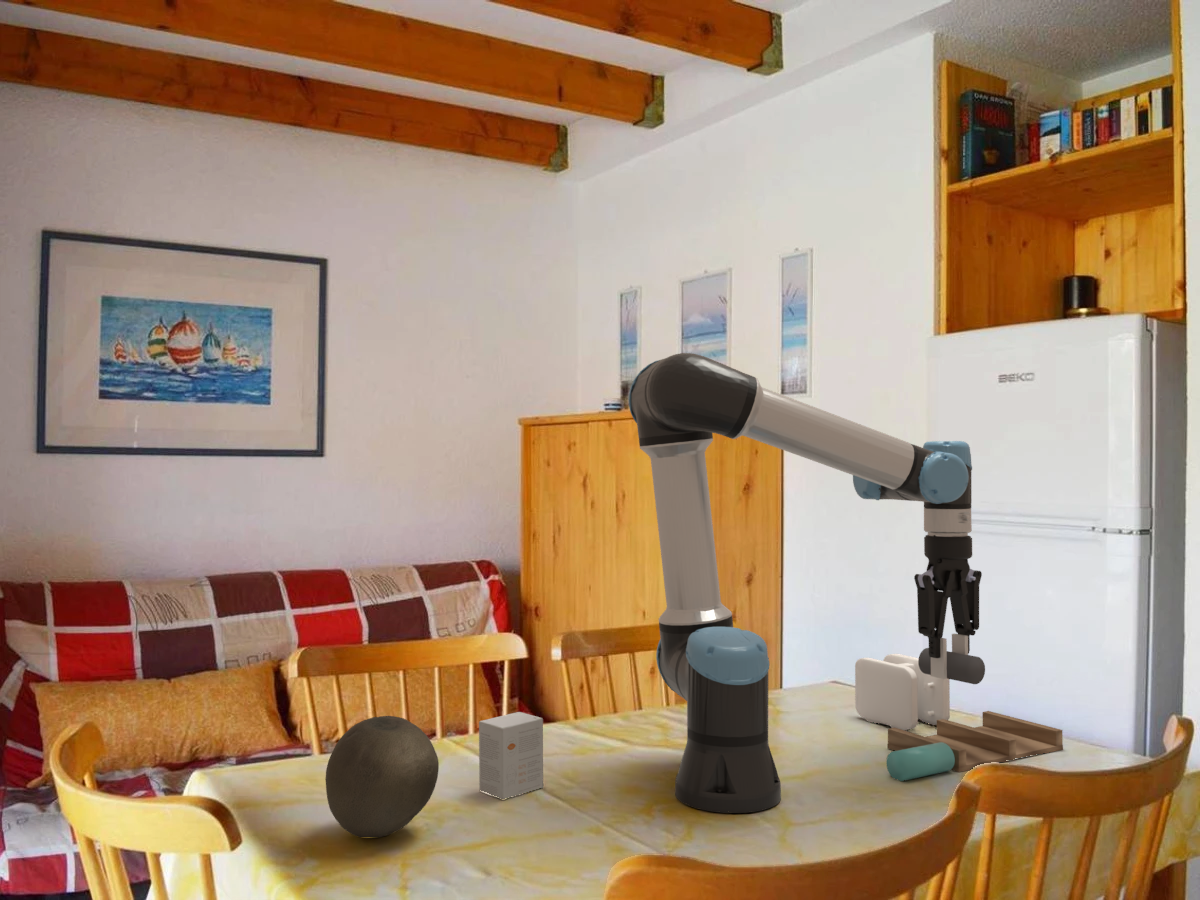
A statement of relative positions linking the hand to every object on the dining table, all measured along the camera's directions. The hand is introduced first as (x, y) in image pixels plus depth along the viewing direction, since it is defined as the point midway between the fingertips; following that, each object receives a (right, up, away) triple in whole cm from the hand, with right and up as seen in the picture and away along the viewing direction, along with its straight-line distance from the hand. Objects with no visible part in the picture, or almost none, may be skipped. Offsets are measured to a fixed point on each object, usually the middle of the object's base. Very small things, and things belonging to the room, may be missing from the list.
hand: (949, 675), depth 168 cm
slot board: (+5, -13, +3) cm, 14 cm away
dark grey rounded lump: (-86, -13, -36) cm, 94 cm away
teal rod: (-8, -13, -12) cm, 19 cm away
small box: (-71, -13, -18) cm, 74 cm away
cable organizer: (-2, -13, +20) cm, 25 cm away
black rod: (+1, 0, 0) cm, 1 cm away
